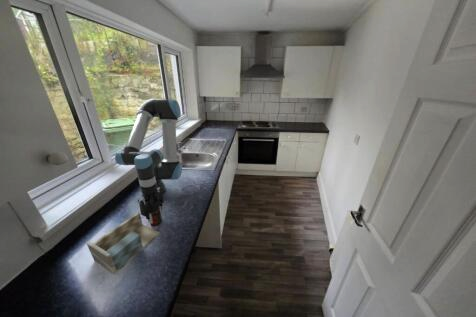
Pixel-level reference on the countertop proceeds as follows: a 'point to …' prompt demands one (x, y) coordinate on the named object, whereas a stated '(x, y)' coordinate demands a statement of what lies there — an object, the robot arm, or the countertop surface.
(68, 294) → the countertop surface
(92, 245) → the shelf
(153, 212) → the deodorant
